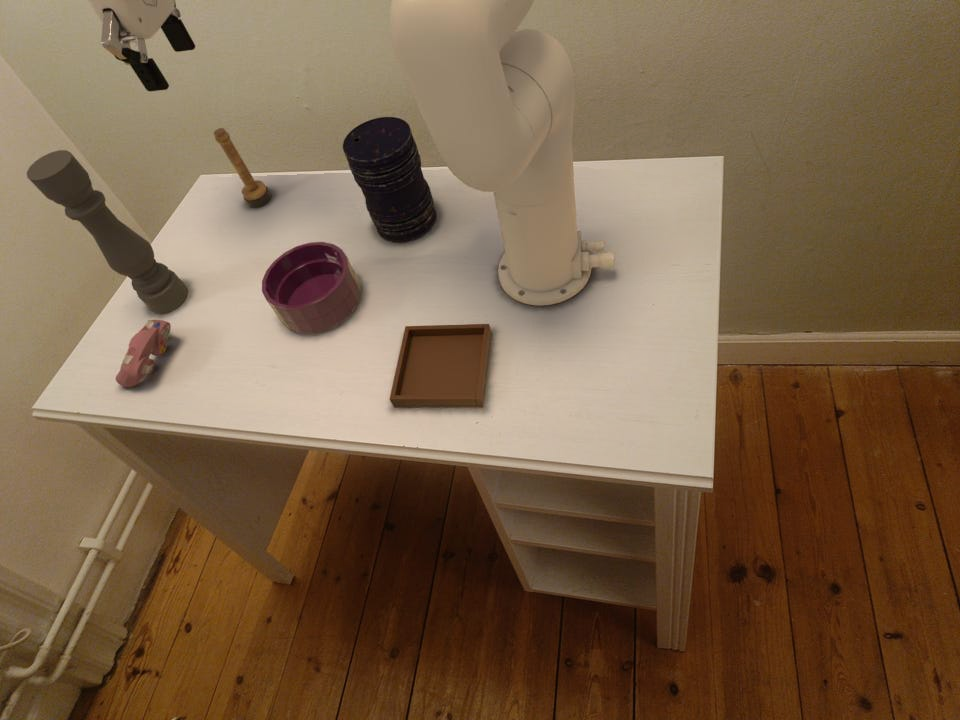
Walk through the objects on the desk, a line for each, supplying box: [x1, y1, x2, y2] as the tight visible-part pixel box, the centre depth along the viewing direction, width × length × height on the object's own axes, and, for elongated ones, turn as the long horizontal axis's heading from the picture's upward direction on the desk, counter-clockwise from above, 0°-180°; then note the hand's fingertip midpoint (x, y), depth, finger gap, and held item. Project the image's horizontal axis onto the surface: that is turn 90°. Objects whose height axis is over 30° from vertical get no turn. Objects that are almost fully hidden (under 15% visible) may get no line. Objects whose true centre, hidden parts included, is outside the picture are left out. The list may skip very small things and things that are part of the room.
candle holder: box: [26, 149, 189, 315], centre depth 85 cm, size 6×6×25 cm
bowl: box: [261, 241, 362, 334], centre depth 86 cm, size 12×12×6 cm
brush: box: [213, 127, 272, 209], centre depth 100 cm, size 4×4×14 cm
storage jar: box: [342, 116, 438, 244], centre depth 89 cm, size 10×10×15 cm
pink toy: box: [115, 319, 171, 388], centre depth 85 cm, size 10×5×7 cm, turn 169°
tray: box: [389, 323, 493, 409], centre depth 77 cm, size 11×11×2 cm
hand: (172, 68), depth 84 cm, fingers open, 9 cm apart
